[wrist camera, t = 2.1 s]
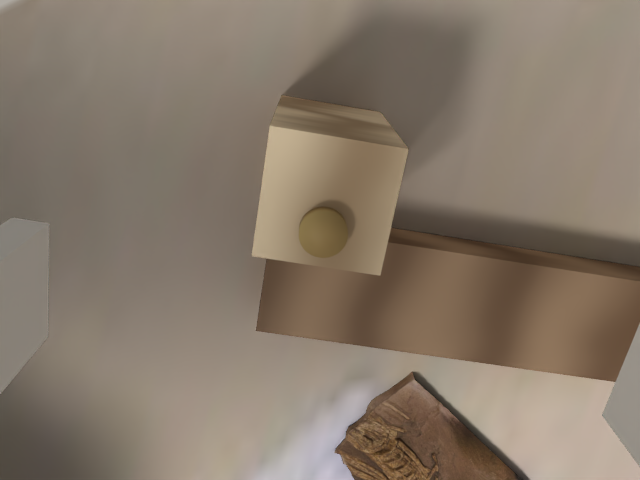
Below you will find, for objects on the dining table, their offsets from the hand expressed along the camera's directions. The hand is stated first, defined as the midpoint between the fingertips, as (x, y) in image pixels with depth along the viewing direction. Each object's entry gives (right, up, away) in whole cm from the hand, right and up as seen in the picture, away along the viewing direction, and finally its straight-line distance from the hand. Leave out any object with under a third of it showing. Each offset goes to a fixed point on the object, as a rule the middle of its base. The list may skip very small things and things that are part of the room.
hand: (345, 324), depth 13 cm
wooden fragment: (+8, -18, +27) cm, 33 cm away
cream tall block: (0, +6, +17) cm, 18 cm away
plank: (+8, -1, +20) cm, 22 cm away
